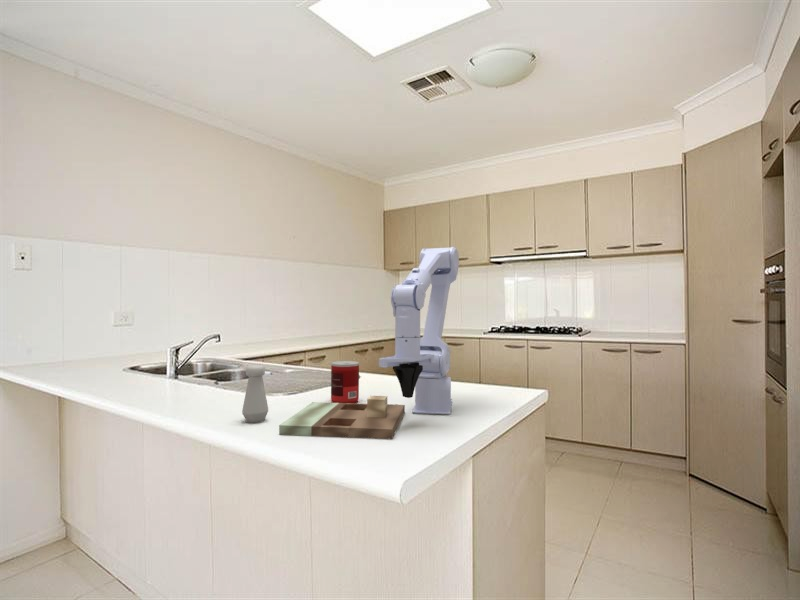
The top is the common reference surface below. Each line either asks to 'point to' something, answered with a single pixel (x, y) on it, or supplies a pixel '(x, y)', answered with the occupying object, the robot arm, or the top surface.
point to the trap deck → (342, 421)
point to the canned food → (345, 382)
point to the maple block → (377, 406)
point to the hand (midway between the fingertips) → (407, 396)
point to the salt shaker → (255, 395)
